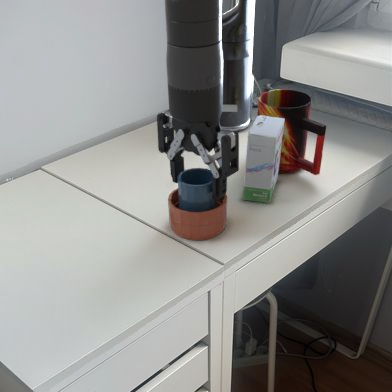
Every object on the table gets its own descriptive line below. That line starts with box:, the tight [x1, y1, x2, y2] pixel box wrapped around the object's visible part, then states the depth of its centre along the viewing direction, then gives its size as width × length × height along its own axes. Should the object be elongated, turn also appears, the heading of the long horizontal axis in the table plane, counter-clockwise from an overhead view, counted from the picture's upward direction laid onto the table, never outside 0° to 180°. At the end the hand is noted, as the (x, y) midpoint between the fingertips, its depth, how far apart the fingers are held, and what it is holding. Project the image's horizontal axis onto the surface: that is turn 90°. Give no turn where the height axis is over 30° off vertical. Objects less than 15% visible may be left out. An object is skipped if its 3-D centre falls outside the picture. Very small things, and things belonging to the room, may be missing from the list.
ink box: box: [242, 115, 285, 204], centre depth 88 cm, size 9×5×12 cm, turn 164°
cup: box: [177, 167, 217, 212], centre depth 81 cm, size 6×6×8 cm
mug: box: [257, 88, 327, 176], centre depth 95 cm, size 10×14×12 cm
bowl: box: [167, 187, 228, 241], centre depth 82 cm, size 9×9×5 cm
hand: (197, 189), depth 80 cm, fingers open, 8 cm apart
